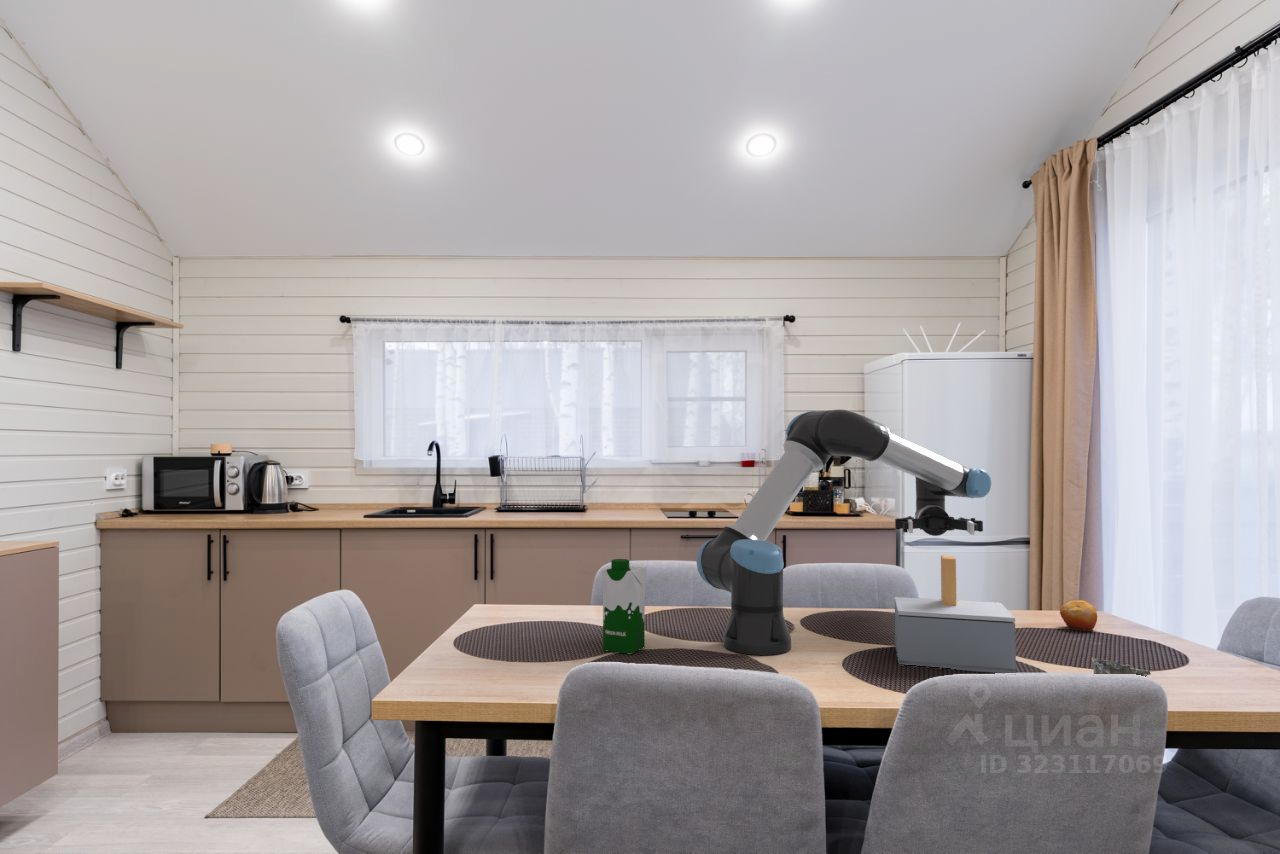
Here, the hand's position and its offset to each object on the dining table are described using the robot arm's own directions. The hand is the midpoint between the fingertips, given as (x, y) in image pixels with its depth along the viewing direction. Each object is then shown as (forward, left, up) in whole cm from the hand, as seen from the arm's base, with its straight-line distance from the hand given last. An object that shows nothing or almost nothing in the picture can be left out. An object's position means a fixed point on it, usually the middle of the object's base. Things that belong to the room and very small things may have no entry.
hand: (941, 528), depth 176 cm
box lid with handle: (0, -18, -15) cm, 24 cm away
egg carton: (+29, -26, -27) cm, 47 cm away
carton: (0, -18, -26) cm, 32 cm away
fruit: (+34, +22, -26) cm, 48 cm away
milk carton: (-69, -31, -26) cm, 80 cm away
